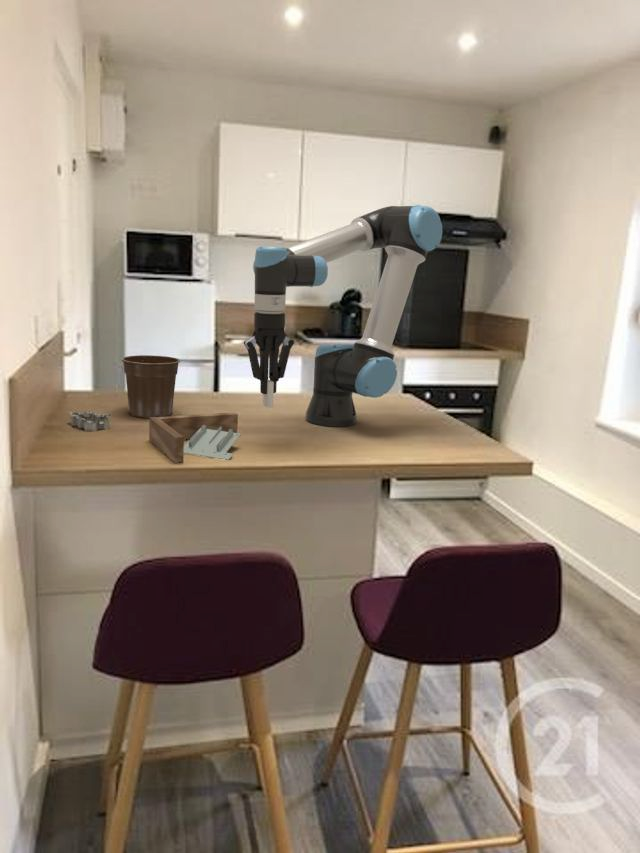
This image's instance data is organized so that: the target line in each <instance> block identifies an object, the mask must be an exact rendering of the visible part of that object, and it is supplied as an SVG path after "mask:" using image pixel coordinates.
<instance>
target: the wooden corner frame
mask: <svg viewBox="0 0 640 853" xmlns="http://www.w3.org/2000/svg"><path fill="white" fill-rule="evenodd" d="M238 415H239V414H238V413H237V412H220V413H219V412H218V413H203V414H202V413H200V414H188V415H187V414H186V415H174V416H172V415H170V416H166V417H160V416H156V417H152V418H148V421H149V422H148V425H149V426H148V427H149V429H148V438H149V439H148V441H149V442H150V444H152V443H153V444H154V445H155V446H154V445H153V444H152V445H153V446H154V447H156V449H158V448H159V449H160V450H161V451H162V452H161V451H160V450H159V449H158V450H159V451H160V452H161V453H163V454H164V455H165V454H166V455H167V456H168V457H169V458H168V457H167V456H166V455H165V456H166V457H167V458H168V459H169V460H170V461H171V462H173V461H174V462H175V463H174V462H173V463H174V464H179V463H178V462H182V463H184V456H185V454H184V446H185V444H184V442H185V441H187V440H186V439H191V438H192V437H193V436H194V434H195V433H196V432H197V431H198V430H199V429H200V428H202V426H203V425H204V426H206V429H211V430H218V429H219V428H220V427H222V431H225V432H228V431H229V429H233V433H238V419H239V418H238Z"/></svg>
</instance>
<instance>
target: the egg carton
mask: <svg viewBox="0 0 640 853" xmlns="http://www.w3.org/2000/svg"><path fill="white" fill-rule="evenodd" d="M68 413H69V414H70V416H71V417H70V421H71V422H70V425H71V426H77V428H79V429H84V431H86V432H88V431H89V432H96V431H97V430H109V428H110V420H109V418H110V417H112V414H110V413H104V414H103V413H102V414H100V413H99V414H98V413H94V412H92V411H88V412H86V410H83V411H73V412H72V411H68ZM96 429H97V430H96Z"/></svg>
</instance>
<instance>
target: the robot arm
mask: <svg viewBox="0 0 640 853" xmlns="http://www.w3.org/2000/svg"><path fill="white" fill-rule="evenodd" d="M442 237H443V224H442V222H441V218H440V215H439V214H438V213H437V211H436V210H435V209H434V208H432V207H431V206H428V205H427V206H426V205H420V204H418V205H417V204H415V205H401V206H400V205H399V206H398V205H397V206H396V205H390V206H385V207H381V208H378V209H376V210H374V211H371V212H368V213H366V214H363V215H360V216H357V217H356V218H354V219H352V220H351V222H350V224H347V225H344V226H342V227H339V228H337V229H334V230H331V231H328V232H325V233H323V234H320V235H318V236H314V237H312V238H310V239H307V240H304V241H301V242H299V243H296V244H294V245H291V246H288V247H284V246H267V245H260V246H258V247H257V248H256V249H255V253H254V254H255V256H254V261H253V265H252V270H253V273H254V304H253V305H254V306H253V307H254V310H255V313H254V314H253V315H254V316H253V317H254V318H253V326H254V330H253V334H252V337H250V339H249V340H247V339H246V340H244V341H243V345H244V347H245V348H246V349H247V353H248V357H249V362H250V367H251V373H252V376H253V378H254V379H257V380H259V381H260V386H259V387H260V390H259V391H260V394H262V395H263V396H262V401H263V402H262V405H263V407H265V408H269V409H270V408H273V407H274V394H276V393H277V382H279V381H280V379H283V378H285V374H286V369H287V366H288V361H289V356H290V352H291V349H292V347H293V345H294V344H295V340H293V339H290V338H289V337H288V336H287V334H286V331H285V328H286V314H285V313H284V312H285V311H286V300H287V299H286V296H287V294H286V293H287V288H288V287H310V288H313V287H320V286H322V285H324V283H325V282H326V281H327V278H328V275H329V274H328V272H329V271H328V270H329V268H328V263H330V262H333V261H335V260H338V259H340V258H344V257H345V256H348V255H351V254H353V253H357V252H358V251H360V252H367V251H370V250H374V249H384V250H385V252H386V253H387V259H386V262H385V265H384V268H383V271H382V275H381V277H380V281H379V284H378V287H377V290H376V292H375V295H374V299H373V302H372V306H371V308H370V312H369V315H368V318H367V321H366V325H365V327H364V331H363V334H362V337H361V338H360V339H358V340H356V341H355V342H354V343H333V344H332V343H330V344H328V343H327V344H325V343H324V344H319V345H318V346H317V347H316V350H315V356H314V370H313V371H314V372H313V376H314V377H313V393H312V396H311V399H310V402H309V404H308V405H307V406H308V407H307V409H306V412H305V420H306V421H307V422H308V423H311V424H314V425H318V426H319V425H320V426H324V427H325V426H326V427H348V426H353V425H355V424H356V422H357V413H356V412H357V411H356V407H355V404H354V400H353V399H354V398H353V394H356V395H359V396H362V397H365V398H367V397H368V398H375V399H377V398H381V397H382V396H384V395H386V394H387V393H389V392H390V390H391V389H392V388H393V387H394V385H395V383H396V380H397V375H398V370H397V364H396V362H395V361H394V358H395V353H394V350H393V347H392V346H393V342H394V340H395V337H396V333H397V331H398V327H399V325H400V321H401V319H402V316H403V312H404V308H405V306H406V303H407V300H408V297H409V293H410V290H411V287H412V284H413V281H414V278H415V274H416V272H417V268H418V266H419V265H420V264H422V263H424V262H425V261H426V259H427V255H428V252H431V251H433V250H435V249H436V248H438V246H440V243H441V241H442ZM256 346H258V351H259V357H258V352H257V349H256ZM280 347H281V349H280Z"/></svg>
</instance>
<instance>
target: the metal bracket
mask: <svg viewBox="0 0 640 853" xmlns="http://www.w3.org/2000/svg"><path fill="white" fill-rule="evenodd" d="M240 436H241V433H238V432H237V433H233V429H229V431H228V432H225V431H222V427H220V428H219V429H218V430H211V429H206V426H204V425H203V426H202V428H200V429H199V430H198V431H197V432H196V433H195V434H194V436H193V437H192V438H191V439H190V440H187V442H186V443H185V444H184V453H187V454H186V455H188V454H193V455H192V456H194V455H200V456H199V457H201V456H206V457H205V458H207V457H211V458H210V459H214V458H218V459H225V460H229V459H230V460H231V458H232V457H233V456H234V454H233V453H231V452H228V451H229V450H230V449H231V448H232V446H233V445H234V443H235V442H236V441H238V439H239V437H240ZM230 460H229V461H230Z"/></svg>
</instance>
